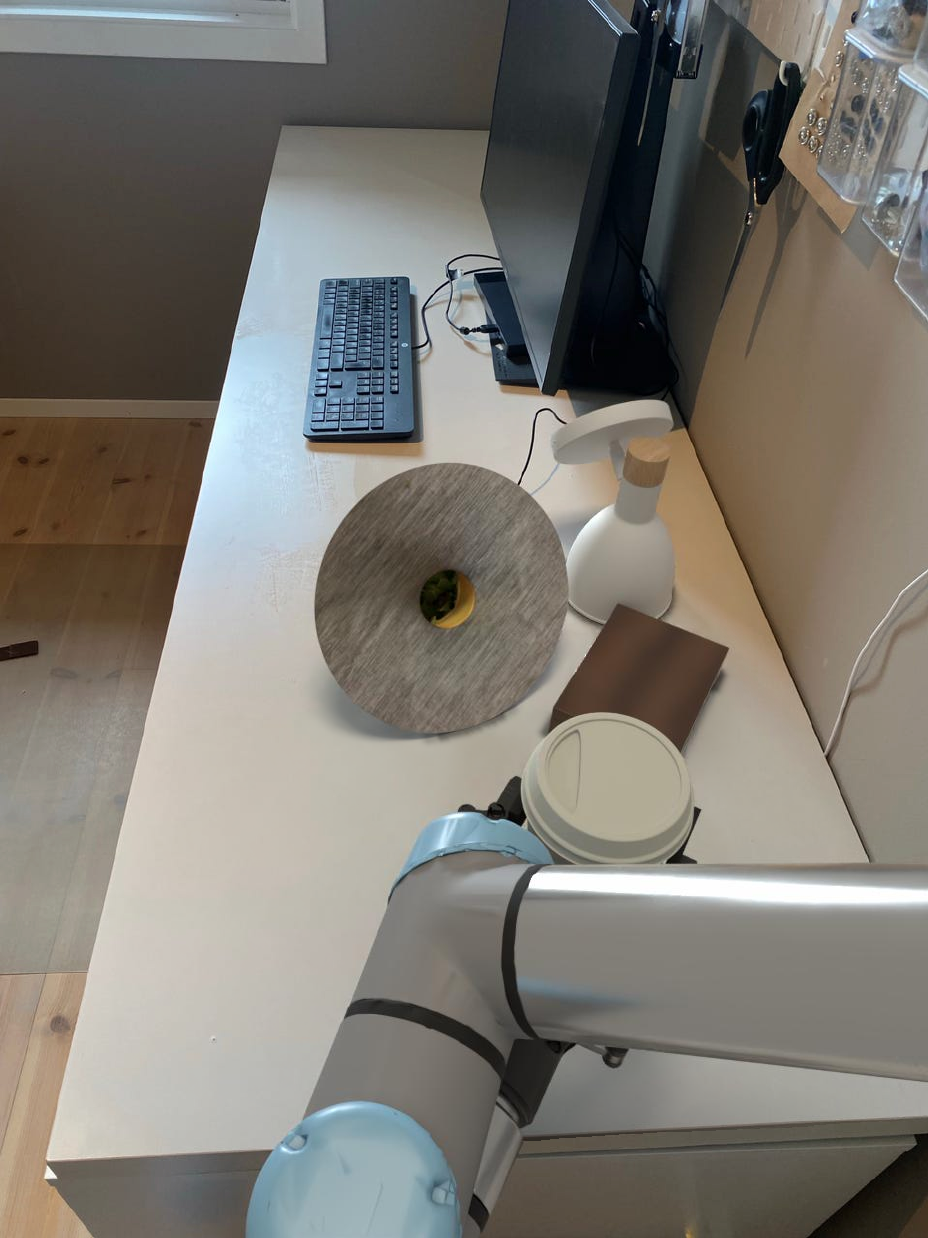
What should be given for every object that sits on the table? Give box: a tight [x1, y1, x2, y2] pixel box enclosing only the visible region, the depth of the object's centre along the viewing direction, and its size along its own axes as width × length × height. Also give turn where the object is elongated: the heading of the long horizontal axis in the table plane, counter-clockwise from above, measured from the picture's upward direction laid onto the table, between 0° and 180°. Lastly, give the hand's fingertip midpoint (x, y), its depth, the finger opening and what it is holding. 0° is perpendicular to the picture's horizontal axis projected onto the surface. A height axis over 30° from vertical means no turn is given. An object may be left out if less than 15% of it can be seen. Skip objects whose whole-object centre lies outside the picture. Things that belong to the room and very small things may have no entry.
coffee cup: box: [521, 712, 695, 865], centre depth 60 cm, size 11×11×15 cm
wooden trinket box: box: [547, 603, 730, 755], centre depth 88 cm, size 12×16×4 cm
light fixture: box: [549, 399, 676, 625], centre depth 95 cm, size 13×21×20 cm
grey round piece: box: [313, 462, 569, 734], centre depth 89 cm, size 25×18×25 cm
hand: (620, 785), depth 62 cm, fingers closed on coffee cup, 9 cm apart
